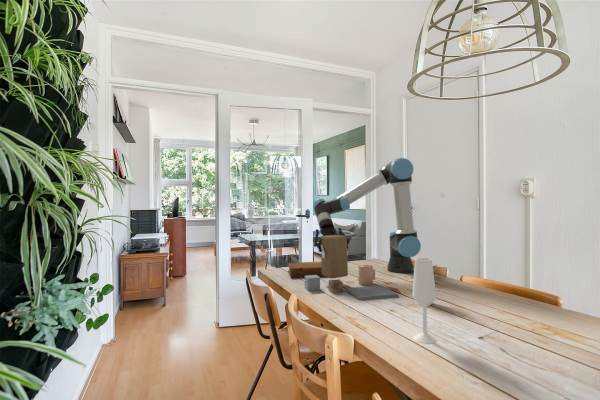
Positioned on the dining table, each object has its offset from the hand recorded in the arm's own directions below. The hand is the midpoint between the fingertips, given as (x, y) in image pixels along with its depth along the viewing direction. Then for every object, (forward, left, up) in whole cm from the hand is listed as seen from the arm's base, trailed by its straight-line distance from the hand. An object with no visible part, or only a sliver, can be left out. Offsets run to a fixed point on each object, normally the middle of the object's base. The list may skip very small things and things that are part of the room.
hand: (335, 255), depth 169 cm
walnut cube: (+4, +9, -15) cm, 18 cm away
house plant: (-26, +37, -15) cm, 48 cm away
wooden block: (0, -3, -11) cm, 11 cm away
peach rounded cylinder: (-15, 0, -15) cm, 21 cm away
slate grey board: (-10, +17, -15) cm, 25 cm away
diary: (+6, -33, -16) cm, 37 cm away
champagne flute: (-4, +68, -15) cm, 70 cm away
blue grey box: (+13, +1, -15) cm, 20 cm away
